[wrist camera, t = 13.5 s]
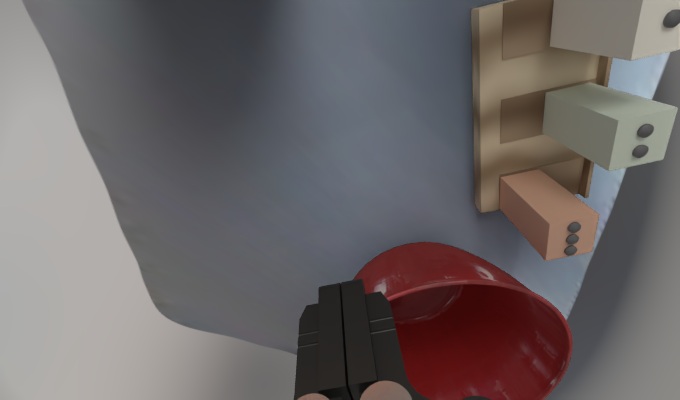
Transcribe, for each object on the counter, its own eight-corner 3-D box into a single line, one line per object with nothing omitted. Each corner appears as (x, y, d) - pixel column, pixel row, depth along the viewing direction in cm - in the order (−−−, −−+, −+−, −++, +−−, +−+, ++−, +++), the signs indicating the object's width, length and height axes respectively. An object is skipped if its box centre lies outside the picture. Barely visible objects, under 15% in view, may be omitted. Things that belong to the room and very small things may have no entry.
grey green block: (542, 132, 38) (610, 172, 29) (545, 92, 35) (620, 121, 26) (583, 123, 37) (665, 160, 28) (589, 82, 35) (680, 108, 26)
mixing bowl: (317, 197, 43) (316, 284, 29) (533, 202, 45) (624, 285, 31) (314, 344, 57) (312, 448, 43) (479, 342, 59) (525, 442, 45)
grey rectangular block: (549, 46, 33) (633, 61, 24) (554, -7, 31) (648, -12, 22) (596, 35, 33) (699, 46, 24) (604, -19, 31) (720, -29, 22)
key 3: (499, 208, 42) (547, 262, 33) (500, 177, 40) (551, 225, 31) (536, 201, 42) (593, 253, 33) (538, 169, 40) (601, 215, 31)
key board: (571, 185, 44) (588, 197, 41) (474, 205, 45) (485, 218, 42) (600, -23, 32) (627, -26, 30) (470, 9, 33) (484, 9, 30)
